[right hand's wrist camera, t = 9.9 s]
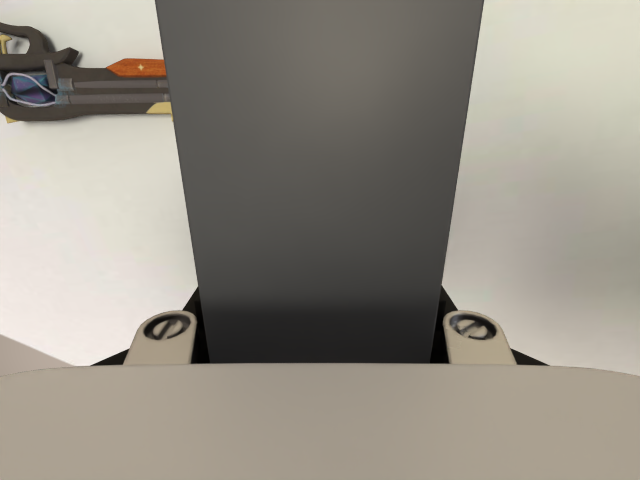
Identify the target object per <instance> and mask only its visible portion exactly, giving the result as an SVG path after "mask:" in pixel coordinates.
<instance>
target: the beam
mask: <svg viewBox="0 0 640 480" xmlns="http://www.w3.org/2000/svg"><path fill="white" fill-rule="evenodd" d="M155 4H156V11H157V17H158V24H159V30H160V37H161V44H162V50H163V57H164V63H165V70H166V76H167V83H168V90H169V96H170V103H171V109H172V116H173V122H174V129H175V136H176V142H177V149H178V155H179V162H180V169H181V175H182V182H183V188H184V195H185V201H186V208H187V215H188V221H189V228H190V234H191V241H192V248H193V254H194V261H195V267H196V274H197V280H198V287H199V294H200V300H201V307H202V313H203V320H204V326H205V333H206V340H207V346H208V353H209V359H210V364H230V363H400V364H430V357H431V351H432V344H433V337H434V331H435V324H436V317H437V311H438V304H439V297H440V291H441V284H442V277H443V271H444V264H445V257H446V251H447V244H448V237H449V231H450V224H451V218H452V211H453V204H454V198H455V191H456V184H457V178H458V171H459V164H460V158H461V151H462V144H463V138H464V131H465V124H466V118H467V111H468V104H469V98H470V91H471V84H472V78H473V71H474V64H475V58H476V51H477V44H478V38H479V31H480V24H481V18H482V11H483V4H484V0H155Z"/></svg>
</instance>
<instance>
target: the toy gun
mask: <svg viewBox="0 0 640 480" xmlns="http://www.w3.org/2000/svg"><path fill="white" fill-rule="evenodd" d="M0 32H3V33H7V34H11V35H14V36H18V37H26V38H29V41H30V47H29V49H28V51H27V53H26V54H7V49H6V42H7V41H9V40H12V38H11V37H9V36H6V35H3V34H2V35H1V36H0V112H1V113H2V114H4V115H5V117H6V120H7V123H12V122H17V121H55V120H64V119H69V118H74V117H78V116H82V115H91V114H171V117H172V121H173V116H172V109H171V103H170V96H169V90H168V83H167V76H166V70H165V63H164V60H158V59H123V60H121V61H118V62H116V63H114V64H112V65H110V66H108V67H106V68H79V67H74V66H71V64H72V63H73V62H74V60H75V59H76V57H77V55H78V53H79V51H77V50H75V49H72V48H70V47H69V48H66V49H64V50H61V51H58V52H53V53H50V52H49V47H48V43H47V40H46V38H45V37H44V35H43V34H42V33H41V32H40V31H39V30H37V29H34V28H32V27H29V26H12V25H7V24H3V23H0ZM1 46H2V53H3V54H1ZM43 70H46V73H47V75H32V76H29V75H26V74H21V73H10V72H27V71H43ZM12 75H20V76H17V77H12V80H11V76H12ZM15 96H16V97H18V98H20V99H21V100H23V101H20V100H16V97H15ZM17 102H20V103H24V104H29V105H31V106H49V105H53V104H56V105H54V106H50V107H24V106H21V105H19V104H17Z"/></svg>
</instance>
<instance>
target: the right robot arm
mask: <svg viewBox="0 0 640 480" xmlns="http://www.w3.org/2000/svg"><path fill="white" fill-rule="evenodd" d="M0 480H640V376H636V375H630V374H625V373H620V372H614V371H607V370H599V369H591V368H579V367H563V366H550V365H547V364H545V363H543V362H541V361H538V360H536V359H534V358H531V357H529V356H527V355H525V354H522V353H520V352H518V351H515V350H513V349H511V348H510V346H509V344H508V342H507V339H506V337H505V334H504V332H503V330H502V328H501V327H500V325H499V324H498V323H496V322H495V321H494V320H493V319H491V318H489V317H487V316H485V315H482V314H480V313H477V312H472V311H462V310H459V311H458V309H457V308H456V306H455V305H454V303H453V302H452V300H451V299H450V297H449V296H448V294H447V293H446V291H445V290H444V288H443V287H442V285H441V291H440V297H439V304H438V311H437V317H436V324H435V331H434V337H433V344H432V351H431V357H430V364H400V363H230V364H210V359H209V353H208V346H207V340H206V333H205V326H204V320H203V313H202V307H201V300H200V294H199V287H197V289H196V290H195V292H194V293H193V295H192V296H191V298H190V299H189V301H188V303H187V304H186V306H185V307H184V309H183V310H182V311H181V310H178V311H168V312H163V313H160V314H158V315H155V316H153V317H151V318H149V319H147V320H146V321H145V322H144V323H142V324H141V325H140V327H139V328H138V330H137V332H136V334H135V337H134V339H133V342H132V344H131V346H130V348H129V349H127V350H125V351H123V352H120V353H118V354H116V355H113V356H111V357H109V358H107V359H104V360H102V361H100V362H98V363H95V364H93V365H91V366H76V367H62V368H49V369H40V370H33V371H26V372H20V373H15V374H10V375H5V376H0Z"/></svg>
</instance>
